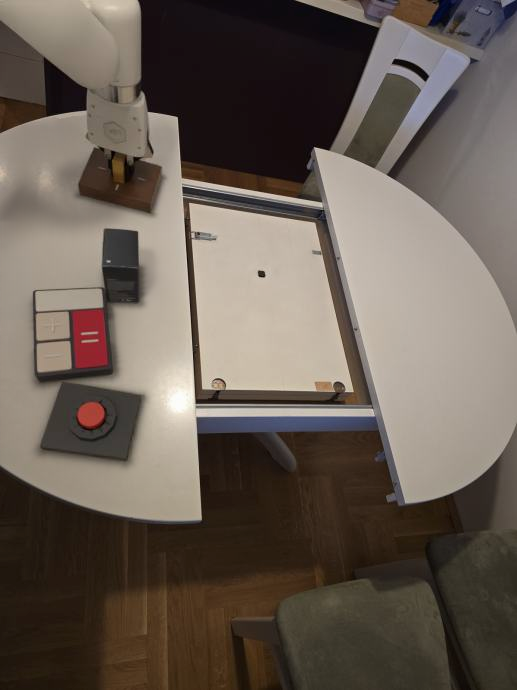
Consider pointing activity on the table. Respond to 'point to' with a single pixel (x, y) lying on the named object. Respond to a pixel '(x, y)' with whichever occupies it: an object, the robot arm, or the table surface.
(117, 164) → the lock knob
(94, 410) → the bell button
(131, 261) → the box
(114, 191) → the plate
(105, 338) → the calculator
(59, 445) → the bell block
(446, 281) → the table surface
